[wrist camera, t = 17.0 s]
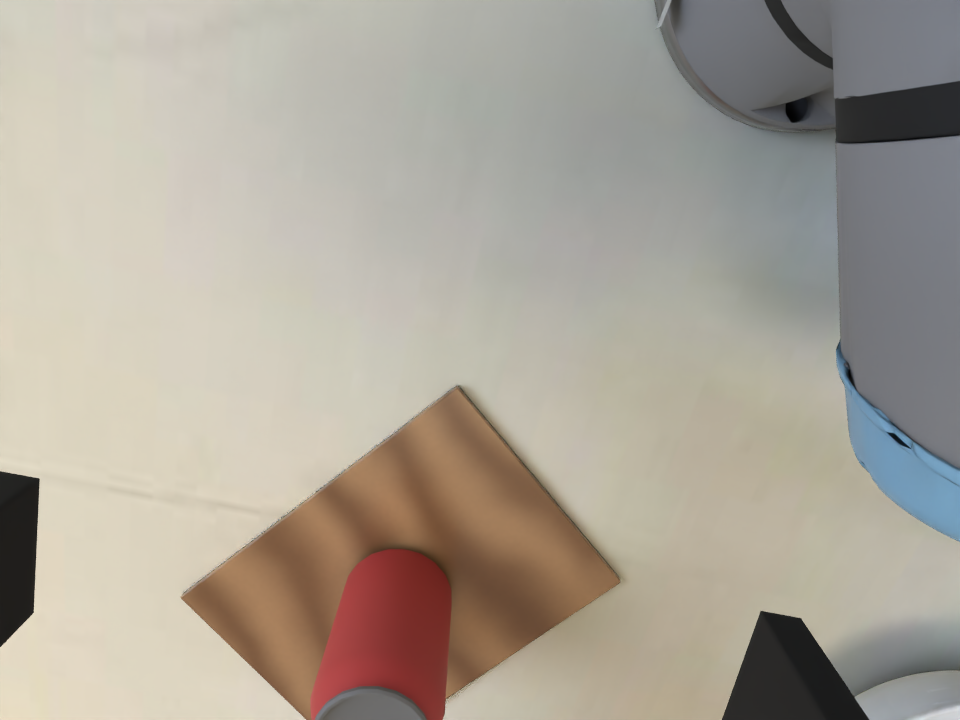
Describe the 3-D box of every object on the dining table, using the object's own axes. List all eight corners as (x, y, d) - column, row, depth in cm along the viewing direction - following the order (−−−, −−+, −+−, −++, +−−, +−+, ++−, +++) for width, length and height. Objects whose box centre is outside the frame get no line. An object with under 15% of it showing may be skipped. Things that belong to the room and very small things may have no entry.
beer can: (424, 652, 47) (406, 817, 35) (328, 612, 46) (277, 767, 34) (470, 569, 45) (466, 714, 34) (371, 526, 44) (333, 659, 33)
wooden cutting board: (457, 384, 42) (457, 387, 42) (619, 578, 46) (621, 582, 45) (183, 593, 46) (180, 597, 46) (351, 756, 50) (350, 762, 49)
